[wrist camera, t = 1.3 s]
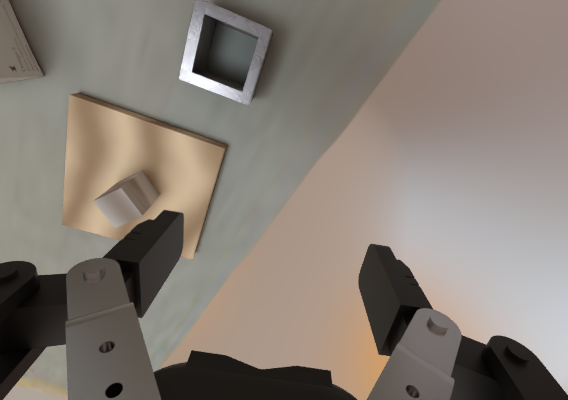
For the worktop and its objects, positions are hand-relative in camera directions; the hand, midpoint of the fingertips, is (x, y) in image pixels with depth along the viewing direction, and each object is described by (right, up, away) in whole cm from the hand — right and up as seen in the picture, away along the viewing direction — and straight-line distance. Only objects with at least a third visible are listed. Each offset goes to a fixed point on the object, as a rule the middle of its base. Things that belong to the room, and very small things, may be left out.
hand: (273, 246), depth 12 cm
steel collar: (-5, +17, +17) cm, 24 cm away
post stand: (-16, +4, +22) cm, 28 cm away
